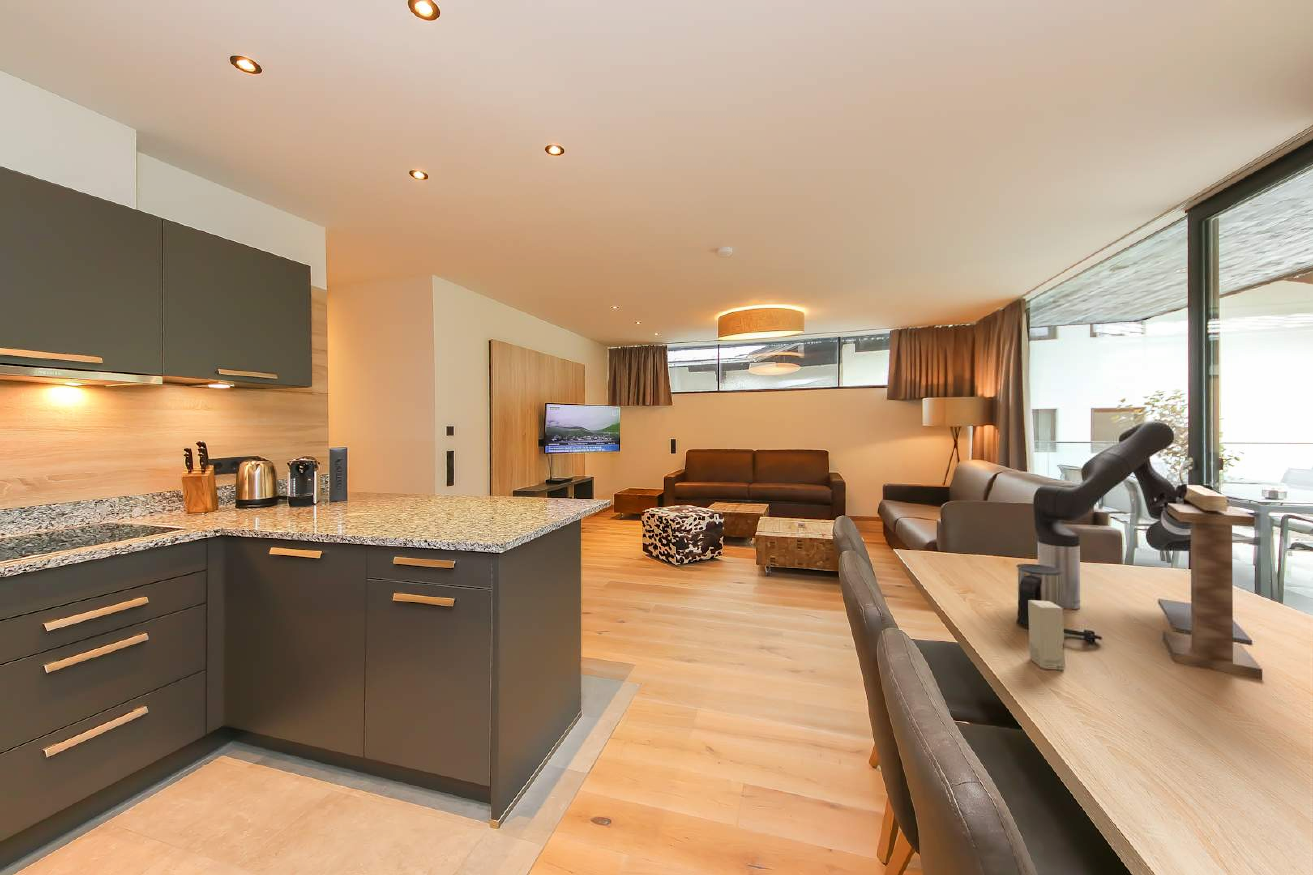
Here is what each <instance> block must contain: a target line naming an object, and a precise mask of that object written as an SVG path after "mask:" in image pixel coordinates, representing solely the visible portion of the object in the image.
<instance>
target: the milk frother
mask: <svg viewBox="0 0 1313 875" xmlns="http://www.w3.org/2000/svg"><path fill="white" fill-rule="evenodd" d="M1015 567H1016V568H1017V614H1016V615H1017V619H1016V623H1017V624H1018V625H1019V626H1021V627H1022V628H1024V629H1028V630H1029V613H1028V600H1037V601H1050V602H1052V603H1054V604H1056V605H1057V606H1059V607H1061V580H1060V574H1061V573H1062V571H1061V570H1059V569H1057V568H1053V567H1050V566H1043V565H1038V563H1037V564H1034V563H1019V564H1016V566H1015ZM1064 634H1066V635H1072V636H1077V637H1083V639H1084V641H1085V642H1087V643H1095V642H1096V640H1099V641H1102V640H1103V637H1102V636H1100V635H1097V634H1096V633H1095V631H1094V630H1087V629H1084V630H1083V631H1080V630H1074V629H1068V628H1064Z"/></svg>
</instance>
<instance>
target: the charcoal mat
mask: <svg viewBox="0 0 1313 875" xmlns="http://www.w3.org/2000/svg"><path fill="white" fill-rule="evenodd" d="M1157 601H1158V603H1159V605H1160V607H1161V608H1162V610H1163V612H1164V614H1165V616H1166V617H1167V619H1168V620H1169V622H1170V624H1171V626H1172V627H1173V629H1174V630H1175V632H1179V633H1184V634H1191V602H1185V601H1178V600H1169V599H1165V598H1158V599H1157ZM1233 642H1237V643H1243V644H1249V645H1253V640H1252V638H1251V637H1250V636H1249V635H1248V634H1247V633H1246V632H1245V631H1244V630H1243V628H1241V627H1240V626H1239V625H1238V624H1237V622H1236V621H1235V620H1234V619H1233Z"/></svg>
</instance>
